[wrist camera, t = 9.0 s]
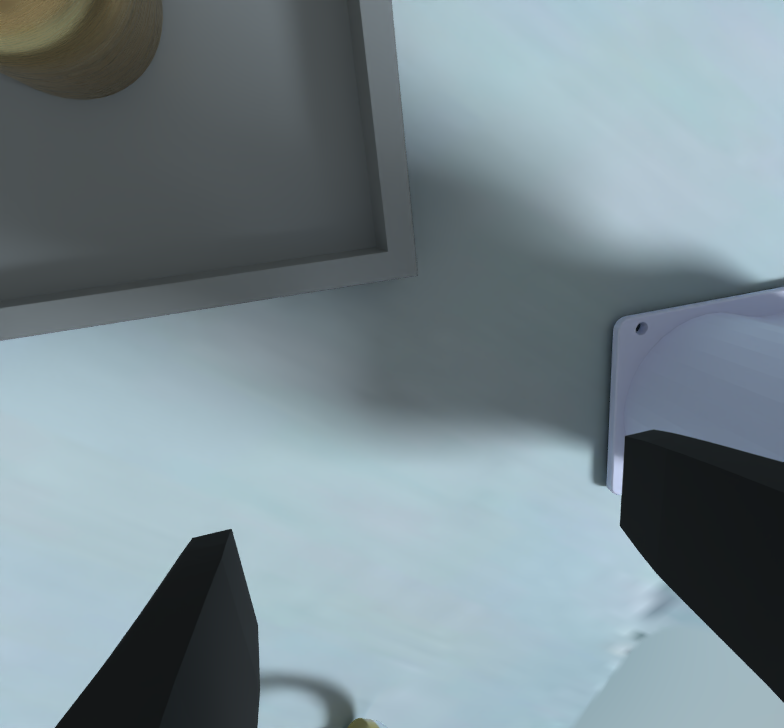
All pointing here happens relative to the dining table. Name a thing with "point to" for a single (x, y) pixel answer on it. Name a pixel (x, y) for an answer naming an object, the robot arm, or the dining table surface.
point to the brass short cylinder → (78, 44)
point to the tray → (210, 170)
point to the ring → (366, 723)
